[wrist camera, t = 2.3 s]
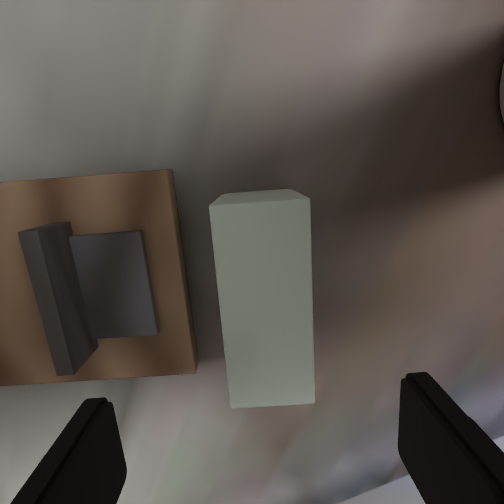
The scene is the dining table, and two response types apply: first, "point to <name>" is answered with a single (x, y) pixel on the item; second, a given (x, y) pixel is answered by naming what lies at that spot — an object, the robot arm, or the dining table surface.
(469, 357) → the dining table surface
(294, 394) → the pale green block
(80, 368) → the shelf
